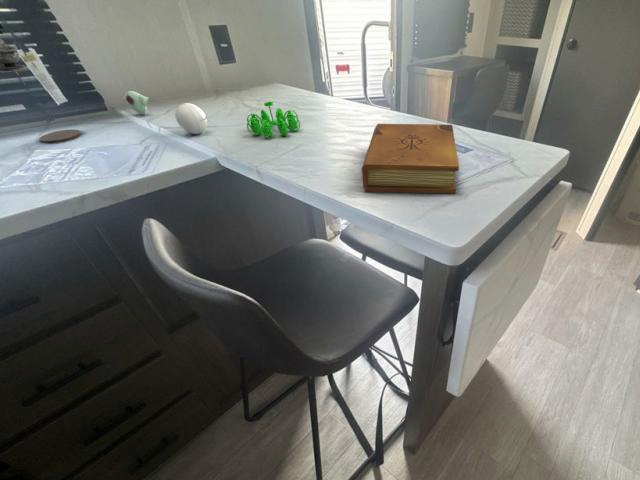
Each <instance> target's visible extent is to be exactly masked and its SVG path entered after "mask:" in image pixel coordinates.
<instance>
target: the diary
mask: <svg viewBox="0 0 640 480" xmlns="http://www.w3.org/2000/svg"><path fill="white" fill-rule="evenodd" d="M455 140H456V139H455V133H454V127H453V124H437V123H436V124H432V123H431V124H427V123H424V124H423V123H416V124H415V123H377V124H376V126H375V127H374V129H373V133H372V136H371V139H370V142H369V145H368V148H367V151H366V154H365V157H364V161H363V164H362V166H361V177H362V187H363V189H364V190H365V191H366V192H367V193H368V192H369V193H370V192H371V193H372V192H373V193H407V194H408V193H411V194H418V193H419V194H453V195H454V194H456V193H457V188H456V180H455V175H456V173H455V172H459V169H460V165H459V159H458V151H457V146H456V141H455Z"/></svg>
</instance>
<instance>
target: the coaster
mask: <svg viewBox="0 0 640 480" xmlns="http://www.w3.org/2000/svg"><path fill="white" fill-rule="evenodd" d="M81 135H82V132H81V130H79V129H72V128H71V129H62V130H55V131H52V132H48V133H46V134H44V135H41V136H39V141H40V142H41V143H43V144H57V143H63V142H67V141H71V140H74V139H77V138H78V137H81Z"/></svg>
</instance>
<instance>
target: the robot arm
mask: <svg viewBox="0 0 640 480" xmlns="http://www.w3.org/2000/svg"><path fill="white" fill-rule="evenodd" d="M1 29H4V26H3V25H2V24H1V23H0V35H4V32H3V31H2V30H1Z"/></svg>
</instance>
